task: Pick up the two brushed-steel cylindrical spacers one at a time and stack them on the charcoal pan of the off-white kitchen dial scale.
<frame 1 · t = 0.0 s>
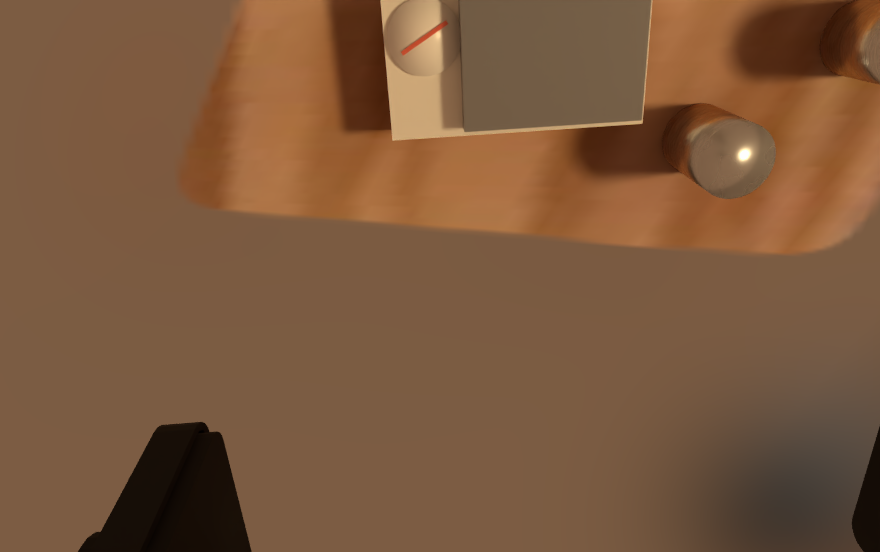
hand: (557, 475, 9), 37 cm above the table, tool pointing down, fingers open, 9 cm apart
spacer a: (696, 138, 45), on the table
scale: (510, 27, 41), on the table
spacer b: (856, 38, 43), on the table
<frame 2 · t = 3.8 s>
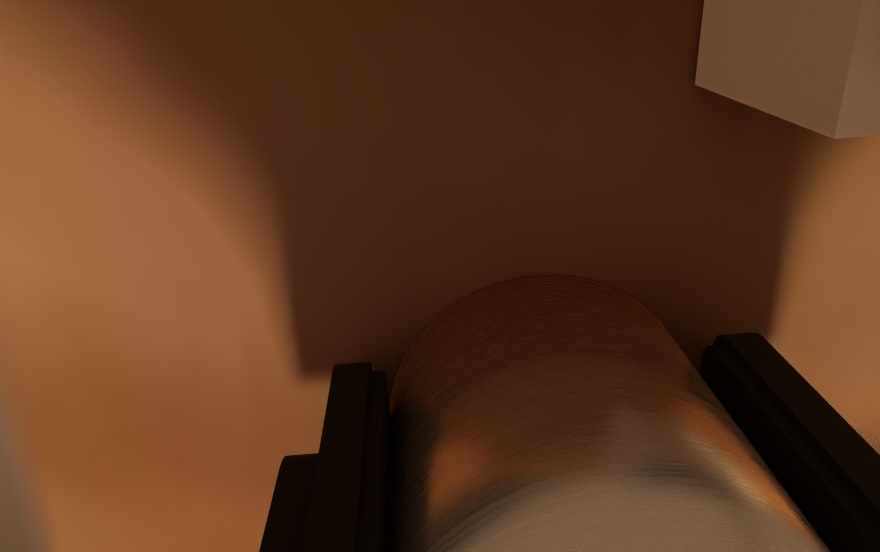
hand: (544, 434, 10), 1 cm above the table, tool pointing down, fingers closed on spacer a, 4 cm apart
spacer a: (537, 408, 11), on the table, touching gripper
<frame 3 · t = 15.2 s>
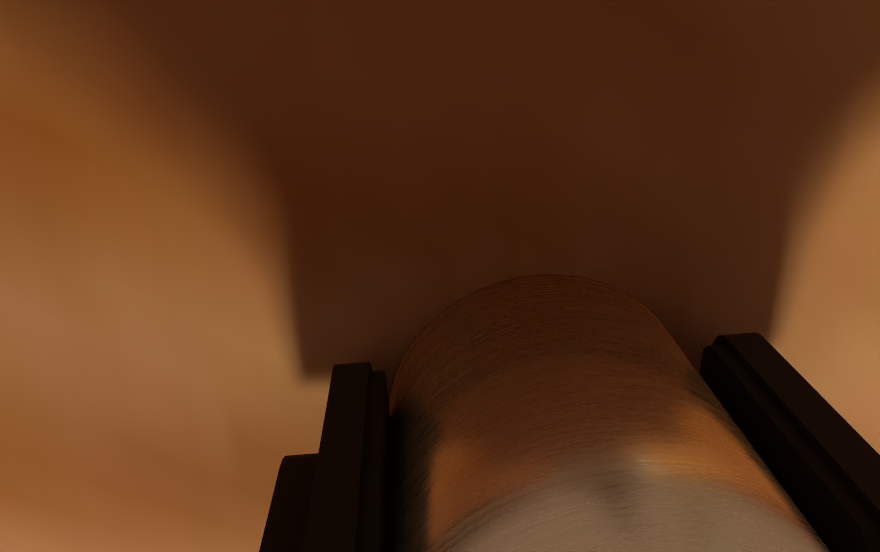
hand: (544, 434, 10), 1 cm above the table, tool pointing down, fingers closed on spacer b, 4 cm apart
spacer b: (537, 408, 11), on the table, touching gripper
when the fingers open (11 cm above the table, at t = 22.1 s): spacer b stays where it is, resting on spacer a.
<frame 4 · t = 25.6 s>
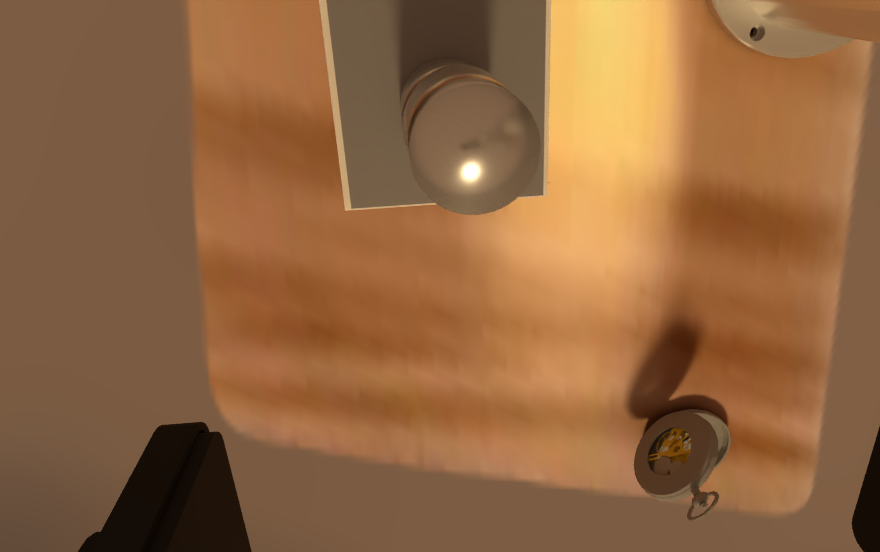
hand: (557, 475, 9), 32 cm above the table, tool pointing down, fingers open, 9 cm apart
spacer a: (445, 104, 34), point 4 cm above the table, touching scale, spacer b
pocket watch: (673, 429, 51), on the table
scale: (436, 55, 37), on the table
spacer b: (459, 120, 29), point 10 cm above the table, touching spacer a
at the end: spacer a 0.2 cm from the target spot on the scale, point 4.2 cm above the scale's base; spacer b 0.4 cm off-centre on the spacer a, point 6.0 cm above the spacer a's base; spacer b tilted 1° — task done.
